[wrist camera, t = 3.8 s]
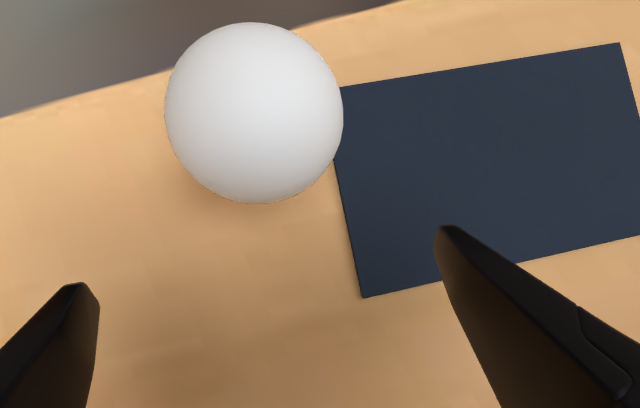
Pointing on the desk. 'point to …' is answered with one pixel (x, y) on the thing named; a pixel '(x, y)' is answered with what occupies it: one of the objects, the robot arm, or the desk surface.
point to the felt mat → (489, 162)
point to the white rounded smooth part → (253, 113)
